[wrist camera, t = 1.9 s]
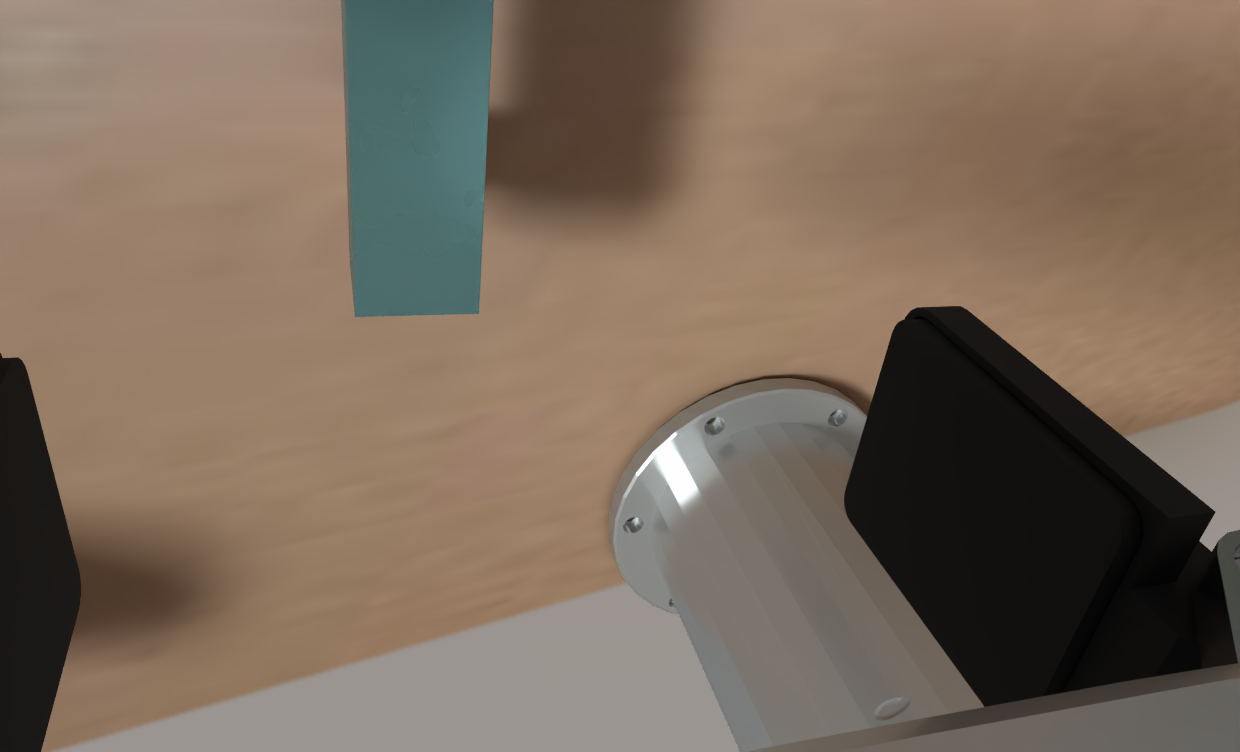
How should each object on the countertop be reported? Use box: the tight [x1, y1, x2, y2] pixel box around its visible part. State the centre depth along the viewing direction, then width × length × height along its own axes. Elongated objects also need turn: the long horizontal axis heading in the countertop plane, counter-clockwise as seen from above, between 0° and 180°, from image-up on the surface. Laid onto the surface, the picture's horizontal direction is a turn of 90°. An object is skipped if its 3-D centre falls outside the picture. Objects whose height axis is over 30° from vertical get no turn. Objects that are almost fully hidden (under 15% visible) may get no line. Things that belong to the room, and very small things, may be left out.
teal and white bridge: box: [341, 0, 494, 317], centre depth 23 cm, size 3×10×8 cm, turn 173°
